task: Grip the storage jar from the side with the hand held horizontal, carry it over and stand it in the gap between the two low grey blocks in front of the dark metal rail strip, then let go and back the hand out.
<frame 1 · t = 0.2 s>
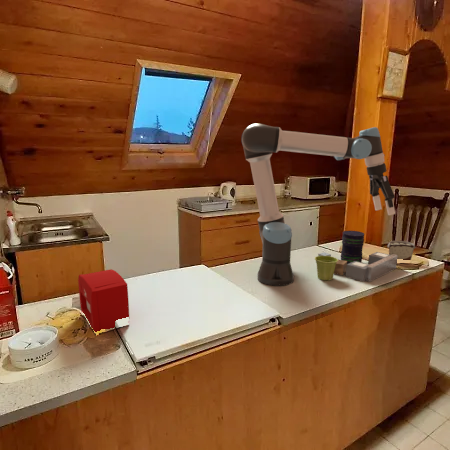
hand: (384, 212, 150), 27 cm above the worktop, tool tilted 15°, fingers open, 13 cm apart
bluegrey block: (323, 266, 162), on the worktop
module block b: (380, 266, 161), on the worktop
fire alarm: (104, 321, 110), on the worktop
storage jar: (350, 263, 166), on the worktop
walnut block: (338, 272, 154), on the worktop
food container: (397, 262, 168), on the worktop
rail: (381, 274, 151), on the worktop
plant pot: (324, 278, 147), on the worktop
module block a: (358, 277, 148), on the worktop
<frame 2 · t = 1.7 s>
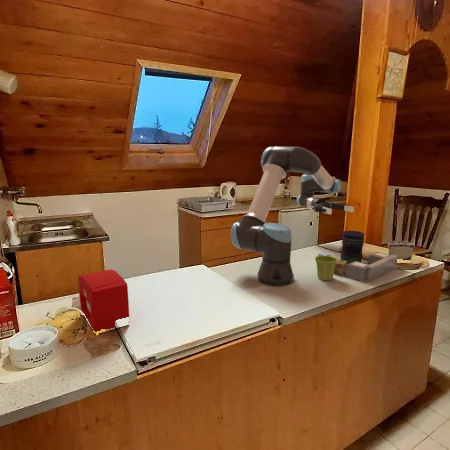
hand: (342, 210, 170), 24 cm above the worktop, tool horizontal, fingers open, 13 cm apart
nothing on the worktop moved.
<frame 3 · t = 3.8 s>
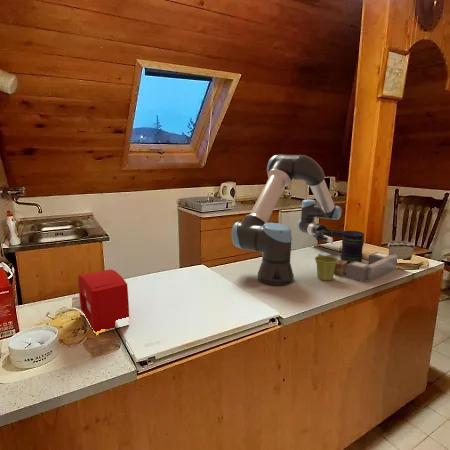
hand: (343, 239, 170), 10 cm above the worktop, tool horizontal, fingers open, 13 cm apart
nothing on the worktop moved.
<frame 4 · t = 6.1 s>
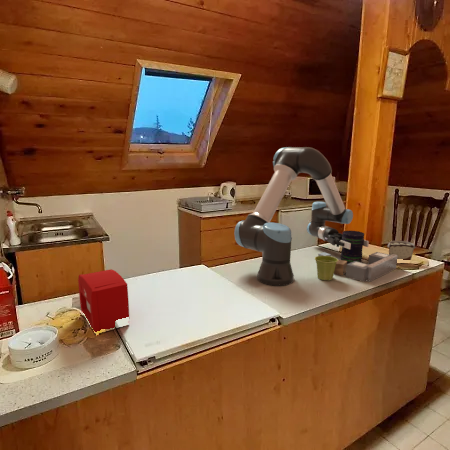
hand: (359, 245, 160), 10 cm above the worktop, tool horizontal, fingers closed on storage jar, 10 cm apart
storage jar: (350, 263, 166), on the worktop, touching gripper
everything else where it was.
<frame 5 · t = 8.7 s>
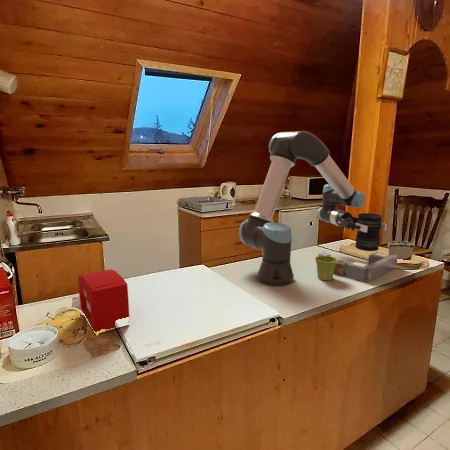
hand: (376, 228, 148), 21 cm above the worktop, tool horizontal, fingers closed on storage jar, 10 cm apart
storage jar: (366, 248, 154), point 10 cm above the worktop, touching gripper
everything else where it was.
when the fingers open (11 cm above the worktop, at t = 11.2 s): storage jar drops 1 cm, on the worktop.
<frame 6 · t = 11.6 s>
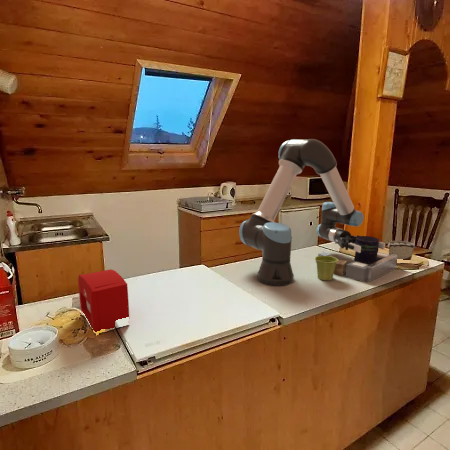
hand: (372, 248, 151), 11 cm above the worktop, tool horizontal, fingers open, 13 cm apart
storage jar: (364, 270, 156), on the worktop
everything else where it was.
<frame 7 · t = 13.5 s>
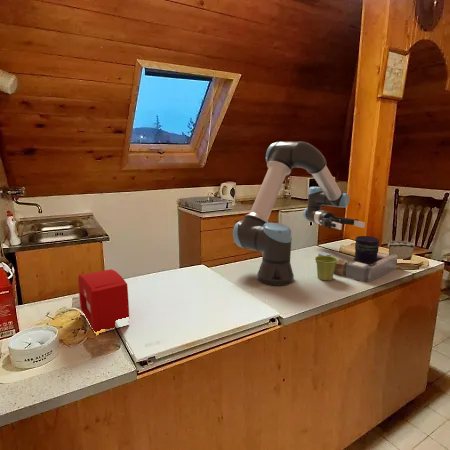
hand: (352, 226, 162), 18 cm above the worktop, tool horizontal, fingers open, 13 cm apart
nothing on the worktop moved.
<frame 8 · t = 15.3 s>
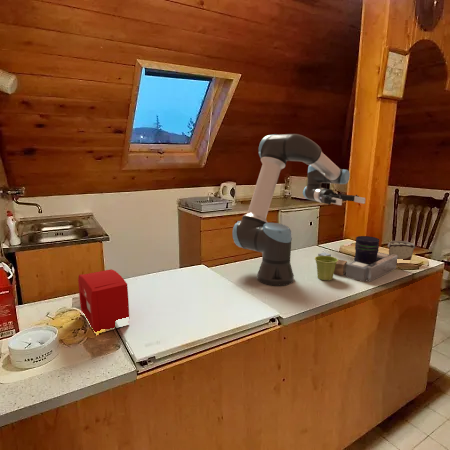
hand: (353, 201, 160), 30 cm above the worktop, tool horizontal, fingers open, 13 cm apart
nothing on the worktop moved.
at the end: storage jar inside the target area (0.1 cm from its centre), on the worktop; storage jar tilted 0°; the gripper is holding nothing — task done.
